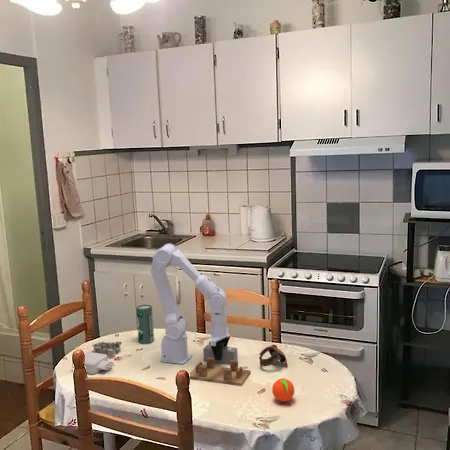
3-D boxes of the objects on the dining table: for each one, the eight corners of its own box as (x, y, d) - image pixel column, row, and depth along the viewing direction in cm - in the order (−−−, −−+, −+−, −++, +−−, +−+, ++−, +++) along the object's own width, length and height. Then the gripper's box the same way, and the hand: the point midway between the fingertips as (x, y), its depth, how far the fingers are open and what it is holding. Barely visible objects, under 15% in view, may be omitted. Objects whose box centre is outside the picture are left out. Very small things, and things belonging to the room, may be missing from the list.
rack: (187, 378, 179) (186, 366, 178) (198, 366, 188) (197, 355, 187) (241, 385, 172) (241, 373, 171) (250, 373, 181) (250, 361, 180)
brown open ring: (290, 372, 182) (279, 355, 179) (266, 382, 184) (255, 365, 181) (288, 351, 193) (278, 335, 190) (266, 360, 195) (255, 344, 192)
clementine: (299, 405, 157) (298, 384, 156) (277, 409, 156) (276, 387, 155) (290, 393, 165) (289, 372, 164) (269, 396, 164) (269, 375, 163)
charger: (106, 378, 182) (72, 372, 188) (121, 367, 190) (88, 362, 196) (105, 365, 181) (71, 359, 187) (120, 355, 189) (88, 350, 195)
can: (141, 338, 218) (138, 304, 215) (155, 338, 217) (153, 304, 215) (137, 344, 212) (134, 309, 209) (151, 344, 211) (149, 309, 209)
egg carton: (123, 351, 205) (123, 341, 205) (110, 358, 199) (110, 348, 198) (104, 346, 211) (103, 337, 210) (90, 353, 204) (89, 343, 204)
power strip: (203, 361, 192) (203, 347, 192) (207, 357, 196) (207, 343, 195) (234, 364, 188) (233, 351, 187) (237, 360, 192) (237, 347, 191)
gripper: (222, 330, 182) (223, 366, 184) (235, 317, 195) (236, 350, 197) (203, 328, 184) (205, 364, 186) (218, 315, 198) (219, 349, 200)
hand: (220, 357), depth 192 cm, fingers closed on power strip, 4 cm apart
